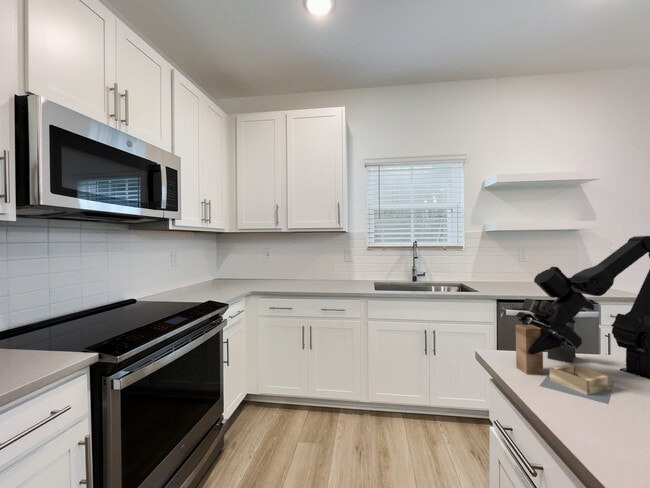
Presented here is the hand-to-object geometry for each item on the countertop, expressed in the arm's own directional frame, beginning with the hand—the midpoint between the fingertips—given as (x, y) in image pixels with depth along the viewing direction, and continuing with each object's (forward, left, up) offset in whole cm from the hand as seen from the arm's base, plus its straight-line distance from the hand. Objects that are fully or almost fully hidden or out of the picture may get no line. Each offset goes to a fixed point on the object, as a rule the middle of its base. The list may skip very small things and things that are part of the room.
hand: (523, 350), depth 85 cm
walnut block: (-1, 0, -7) cm, 7 cm away
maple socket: (-5, +10, -6) cm, 13 cm away
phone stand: (-20, -5, -7) cm, 22 cm away
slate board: (-5, +10, -7) cm, 13 cm away
